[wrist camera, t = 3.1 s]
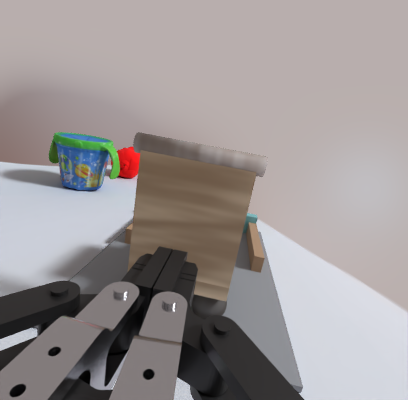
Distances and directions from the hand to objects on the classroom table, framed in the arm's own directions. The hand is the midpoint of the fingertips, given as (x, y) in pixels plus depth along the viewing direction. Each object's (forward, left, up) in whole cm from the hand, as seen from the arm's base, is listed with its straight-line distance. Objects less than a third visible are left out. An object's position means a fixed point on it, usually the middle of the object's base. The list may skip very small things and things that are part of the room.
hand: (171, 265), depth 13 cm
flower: (-41, +41, -9) cm, 59 cm away
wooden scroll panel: (-4, +10, -8) cm, 14 cm away
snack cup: (-38, +26, -9) cm, 47 cm away
